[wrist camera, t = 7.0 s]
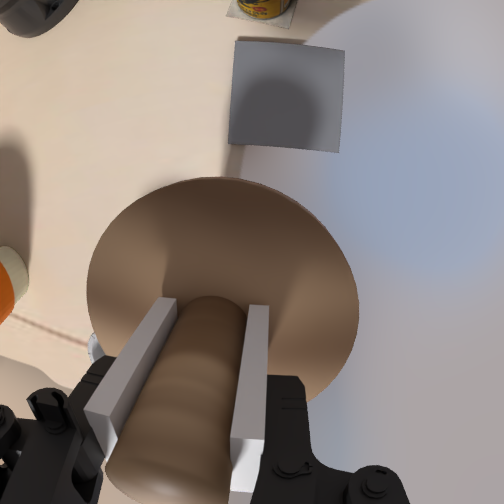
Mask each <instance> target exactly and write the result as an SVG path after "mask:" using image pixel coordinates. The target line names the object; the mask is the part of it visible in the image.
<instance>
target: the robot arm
mask: <svg viewBox="0 0 504 504" xmlns="http://www.w3.org/2000/svg"><path fill="white" fill-rule="evenodd" d="M77 1H78V0H0V23H1V24H2V25H3V26H5V27H6V28H7V30H8V31H9V32H10V33H12V34H14V35H17V36H20V37H24V38H32V37H36V36H39V35H41V34H43V33H45V32H47V31H48V30H50V29H51V28H53V27H54V26H55V25H57V24H58V23H59V22H60V21H61V20H62V19H63V18H64V17H65V16H66V15H67V14H68V13H69V12H70V11H71V9H72V8H73V7H74V5H75V4H76V3H77ZM177 319H178V316H177V301H176V299H175V298H165V297H158V299H157V300H156V301H155V303H154V304H153V306H152V307H151V309H150V310H149V311H148V313H147V314H146V316H145V317H144V319H143V320H142V321H141V323H140V324H139V326H138V327H137V329H136V330H135V332H134V333H133V334H132V336H131V337H130V339H129V340H128V342H127V343H126V345H125V346H124V348H123V349H122V351H121V352H120V354H119V355H118V357H113V356H108V355H104V356H102V357H101V358H99V359H98V360H96V361H95V362H93V364H92V365H91V366H90V368H89V369H88V371H87V373H86V374H85V375H84V376H83V377H82V379H81V382H79V383H78V384H77V386H76V387H75V389H74V390H73V391H72V393H71V394H70V396H69V397H67V395H66V394H65V393H63V391H61V390H59V389H56V388H43V389H39V390H37V391H35V392H33V393H32V394H31V395H30V396H29V397H28V398H27V399H26V400H27V402H28V404H29V406H30V408H31V410H32V412H33V414H34V416H35V417H36V419H37V420H32V419H22V418H16V417H15V415H14V413H13V411H12V410H11V409H10V408H9V407H8V406H4V405H0V459H1V458H2V460H3V461H4V462H5V463H4V464H3V465H0V504H97V503H98V499H99V494H100V490H101V486H102V482H103V472H102V470H101V468H100V467H101V465H102V462H103V460H104V458H105V459H106V461H108V459H109V457H110V455H111V453H112V451H113V449H114V446H115V444H116V442H117V440H118V438H119V436H120V434H121V432H122V430H123V427H124V425H125V423H126V421H127V419H128V417H129V415H130V413H131V411H132V409H133V407H134V405H135V403H136V401H137V399H138V397H139V394H140V392H141V390H142V388H143V386H144V384H145V382H146V380H147V378H148V376H149V374H150V372H151V370H152V368H153V366H154V364H155V362H156V360H157V358H158V356H159V354H160V352H161V351H162V349H163V347H164V345H165V343H166V341H167V339H168V337H169V335H170V333H171V331H172V329H173V327H174V325H175V323H176V321H177ZM268 328H269V306H267V305H251V304H250V305H249V312H248V319H247V326H246V333H245V340H244V347H243V354H242V360H241V367H240V374H239V381H238V388H237V394H236V401H235V408H234V415H233V421H232V428H231V435H230V460H231V462H232V466H233V470H232V478H231V491H240V492H253V495H252V499H251V502H250V504H410V503H409V500H408V498H407V495H406V492H405V490H404V487H403V485H402V482H401V480H400V479H399V477H398V476H397V474H396V473H395V472H393V471H392V470H390V469H389V468H387V467H383V466H379V465H372V466H366V467H363V468H360V469H359V470H358V471H356V472H355V473H350V472H345V471H340V470H336V469H332V468H329V467H327V466H325V465H324V464H322V463H320V462H319V461H318V460H317V459H316V457H315V456H314V454H313V453H312V449H311V442H310V431H309V422H308V421H309V420H308V411H307V401H306V391H305V386H304V384H303V383H302V381H301V380H300V379H299V377H298V376H292V375H269V374H267V360H268Z"/></svg>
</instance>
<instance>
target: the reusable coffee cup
mask: <svg viewBox="0 0 504 504" xmlns="http://www.w3.org/2000/svg"><path fill="white" fill-rule="evenodd" d="M28 286H29V278H28V272H27V269H26V266H25V264H24V262H23V260H22V259H21V257H20V256H19V254H18V253H17V252H16V251H15V250H14V249H12V248H10V247H8V246H2V247H0V325H1V323H2V322H3V321H4V320H5V319H6V318H7V317H8V315H9V314H10V313H11V312H12V310H13V308H14V305H15V304H16V303H17V302H18V301H19V300H20V299H21V297H22V296H23V295H24V294H25V293H26V292H27V290H28Z"/></svg>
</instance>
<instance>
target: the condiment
mask: <svg viewBox="0 0 504 504" xmlns="http://www.w3.org/2000/svg"><path fill="white" fill-rule="evenodd" d="M296 4H297V0H232V1H231V4H230V7H229V10H228V12H227V15H226V16H227V17H233V18H238V19H243V20H249V21H254V22H259V23H264V24H268V25H273V26H278V27H283V28H287V29H289V27H290V23H291V20H292V17H293V13H294V10H295V7H296Z"/></svg>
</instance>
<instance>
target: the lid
mask: <svg viewBox="0 0 504 504" xmlns="http://www.w3.org/2000/svg"><path fill="white" fill-rule="evenodd" d="M158 297H165V298H175V299H176V301H177V316H178V319H177V321H176V323H175V325H174V327H173V329H172V331H171V333H170V335H169V337H168V339H167V341H166V343H165V345H164V347H163V349H162V351H161V352H160V354H159V356H158V358H157V360H156V362H155V364H154V366H153V368H152V370H151V372H150V374H149V376H148V378H147V380H146V382H145V384H144V386H143V388H142V390H141V392H140V394H139V397H138V399H137V401H136V403H135V405H134V407H133V409H132V411H131V413H130V415H129V417H128V419H127V421H126V423H125V425H124V427H123V430H122V432H121V434H120V436H119V438H118V440H117V442H116V444H115V446H114V449H113V451H112V453H111V455H110V457H109V459H108V461H107V464H106V466H105V472H106V475H107V477H108V478H109V480H110V481H111V482H112V484H113V485H114V486H115V487H116V488H117V489H119V490H120V491H121V492H122V493H124V494H125V495H127V496H128V497H130V498H131V499H133V500H135V501H137V502H139V503H141V504H228V500H229V493H230V485H231V478H232V470H233V466H232V462H231V460H230V435H231V428H232V421H233V415H234V408H235V401H236V394H237V388H238V381H239V374H240V367H241V360H242V354H243V347H244V340H245V333H246V326H247V319H248V312H249V305H250V304H251V305H267V306H269V328H268V360H267V374H269V375H292V376H298V377H299V379H300V380H301V381H302V383H303V384H304V386H305V391H306V401H307V402H308V401H310V400H311V399H313V398H314V397H316V396H317V395H318V394H319V393H320V392H322V391H323V390H324V389H325V388H326V387H327V386H328V385H329V384H330V383H331V382H332V381H333V380H334V379H335V377H336V376H337V375H338V373H339V372H340V371H341V369H342V368H343V366H344V364H345V363H346V360H347V359H348V357H349V355H350V353H351V351H352V348H353V344H354V341H355V338H356V335H357V329H358V322H359V300H358V294H357V288H356V283H355V280H354V277H353V274H352V271H351V268H350V266H349V264H348V262H347V260H346V258H345V256H344V254H343V252H342V251H341V249H340V247H339V246H338V244H337V243H336V241H335V240H334V238H333V237H332V236H331V234H330V233H329V232H328V230H327V229H326V227H325V226H324V225H323V224H322V223H321V222H320V221H319V220H318V219H317V218H316V217H315V216H314V215H313V214H312V213H311V212H310V211H308V210H307V209H306V208H305V207H303V206H302V205H301V204H299V203H298V202H297V201H295V200H293V199H291V198H290V197H288V196H286V195H284V194H283V193H281V192H279V191H277V190H275V189H272V188H270V187H267V186H265V185H262V184H259V183H255V182H251V181H247V180H243V179H238V178H228V177H200V178H195V179H189V180H184V181H180V182H177V183H174V184H171V185H168V186H165V187H163V188H160V189H158V190H155V191H153V192H151V193H149V194H147V195H145V196H144V197H142V198H140V199H138V200H136V201H135V202H134V203H132V204H131V205H130V206H128V207H127V208H126V209H124V210H123V211H122V212H121V213H120V214H119V215H118V216H117V217H116V218H115V219H114V220H113V221H112V222H111V223H110V225H109V226H108V228H107V229H106V230H105V232H104V233H103V235H102V236H101V238H100V240H99V242H98V244H97V246H96V248H95V250H94V253H93V256H92V259H91V262H90V265H89V270H88V277H87V304H88V312H89V316H90V320H91V324H92V327H93V330H94V332H95V335H96V337H97V340H98V342H99V343H100V345H101V347H102V349H103V351H104V353H105V354H106V355H108V356H113V357H118V355H119V354H120V352H121V351H122V349H123V348H124V346H125V345H126V343H127V342H128V340H129V339H130V337H131V336H132V334H133V333H134V332H135V330H136V329H137V327H138V326H139V324H140V323H141V321H142V320H143V319H144V317H145V316H146V314H147V313H148V311H149V310H150V309H151V307H152V306H153V304H154V303H155V301H156V300H157V299H158Z"/></svg>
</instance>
